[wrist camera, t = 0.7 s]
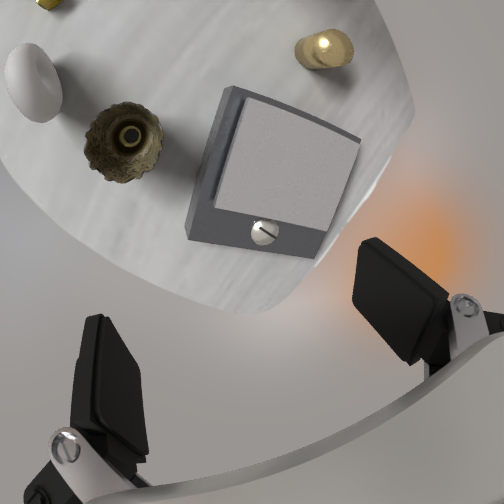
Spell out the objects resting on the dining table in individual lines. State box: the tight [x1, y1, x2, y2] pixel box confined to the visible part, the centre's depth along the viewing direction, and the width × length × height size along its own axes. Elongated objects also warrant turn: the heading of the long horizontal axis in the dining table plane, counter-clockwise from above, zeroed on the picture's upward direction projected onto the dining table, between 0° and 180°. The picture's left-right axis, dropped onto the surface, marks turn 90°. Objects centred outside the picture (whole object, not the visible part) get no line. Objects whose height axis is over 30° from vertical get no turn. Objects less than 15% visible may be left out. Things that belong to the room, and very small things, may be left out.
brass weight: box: [295, 29, 354, 70], centre depth 26 cm, size 5×5×6 cm
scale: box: [185, 86, 361, 259], centre depth 34 cm, size 18×18×4 cm
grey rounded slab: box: [4, 43, 63, 123], centre depth 17 cm, size 10×4×10 cm, turn 19°
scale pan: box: [213, 98, 360, 231], centre depth 30 cm, size 12×15×1 cm
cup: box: [84, 102, 163, 183], centre depth 24 cm, size 8×7×8 cm
